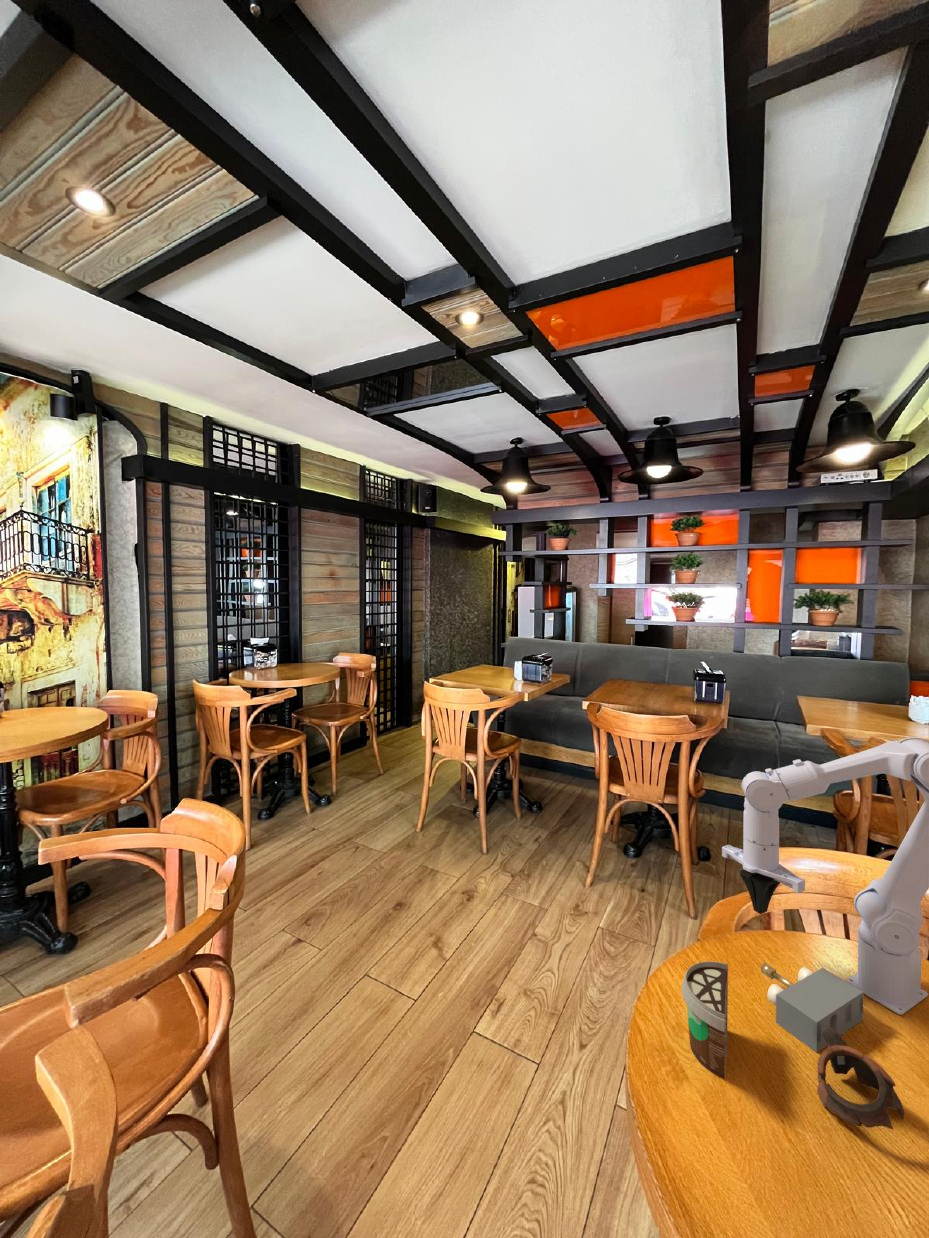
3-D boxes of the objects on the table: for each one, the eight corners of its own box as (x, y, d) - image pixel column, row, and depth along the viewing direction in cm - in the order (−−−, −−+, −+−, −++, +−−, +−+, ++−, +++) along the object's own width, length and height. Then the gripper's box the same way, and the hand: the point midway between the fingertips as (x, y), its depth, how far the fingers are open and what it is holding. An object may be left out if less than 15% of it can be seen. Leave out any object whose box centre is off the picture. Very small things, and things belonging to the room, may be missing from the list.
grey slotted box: (822, 993, 85) (822, 967, 85) (863, 1019, 80) (863, 991, 80) (776, 1022, 80) (776, 994, 80) (816, 1052, 74) (816, 1022, 74)
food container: (685, 1008, 83) (686, 949, 82) (727, 1023, 80) (728, 962, 79) (676, 1068, 72) (676, 1000, 72) (724, 1088, 69) (724, 1017, 69)
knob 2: (807, 980, 87) (807, 964, 87) (855, 1010, 80) (855, 993, 80) (797, 985, 86) (797, 969, 85) (845, 1017, 79) (845, 999, 79)
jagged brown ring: (932, 1146, 62) (916, 1106, 60) (857, 1168, 63) (838, 1129, 61) (859, 1040, 73) (844, 1003, 71) (797, 1061, 75) (780, 1025, 73)
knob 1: (777, 997, 83) (777, 981, 83) (825, 1030, 76) (825, 1012, 76) (767, 1003, 82) (767, 986, 82) (815, 1037, 75) (815, 1019, 75)
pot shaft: (767, 971, 88) (767, 961, 88) (808, 998, 82) (808, 987, 82) (760, 974, 88) (760, 964, 87) (802, 1002, 81) (802, 991, 81)
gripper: (711, 827, 97) (711, 896, 97) (788, 861, 84) (787, 940, 84) (735, 820, 100) (734, 887, 100) (812, 852, 87) (811, 928, 88)
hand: (760, 910), depth 93 cm, fingers closed
